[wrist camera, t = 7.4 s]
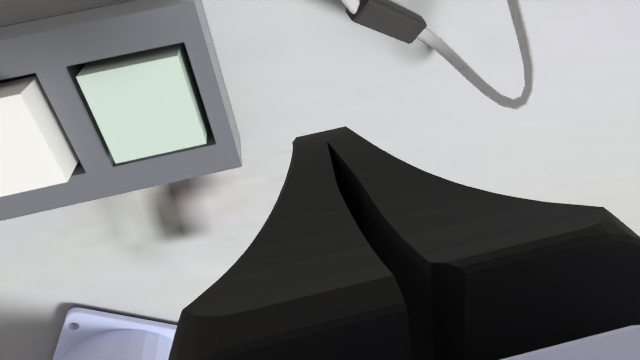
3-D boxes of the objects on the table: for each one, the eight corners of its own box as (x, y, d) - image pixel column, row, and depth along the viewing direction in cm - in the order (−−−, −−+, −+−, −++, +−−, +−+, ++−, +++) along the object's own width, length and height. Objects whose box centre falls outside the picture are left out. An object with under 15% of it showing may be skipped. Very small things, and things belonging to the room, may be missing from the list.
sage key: (181, 41, 17) (177, 55, 16) (207, 123, 19) (206, 143, 18) (88, 60, 17) (75, 76, 16) (124, 141, 19) (115, 163, 18)
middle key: (38, 75, 17) (20, 94, 15) (80, 157, 18) (67, 181, 17) (-61, 96, 16) (-90, 116, 15) (-9, 177, 18) (-30, 203, 17)
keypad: (197, -13, 18) (194, 1, 15) (239, 137, 21) (241, 166, 19) (-235, 73, 17) (-303, 102, 15) (-116, 216, 20) (-157, 256, 18)
